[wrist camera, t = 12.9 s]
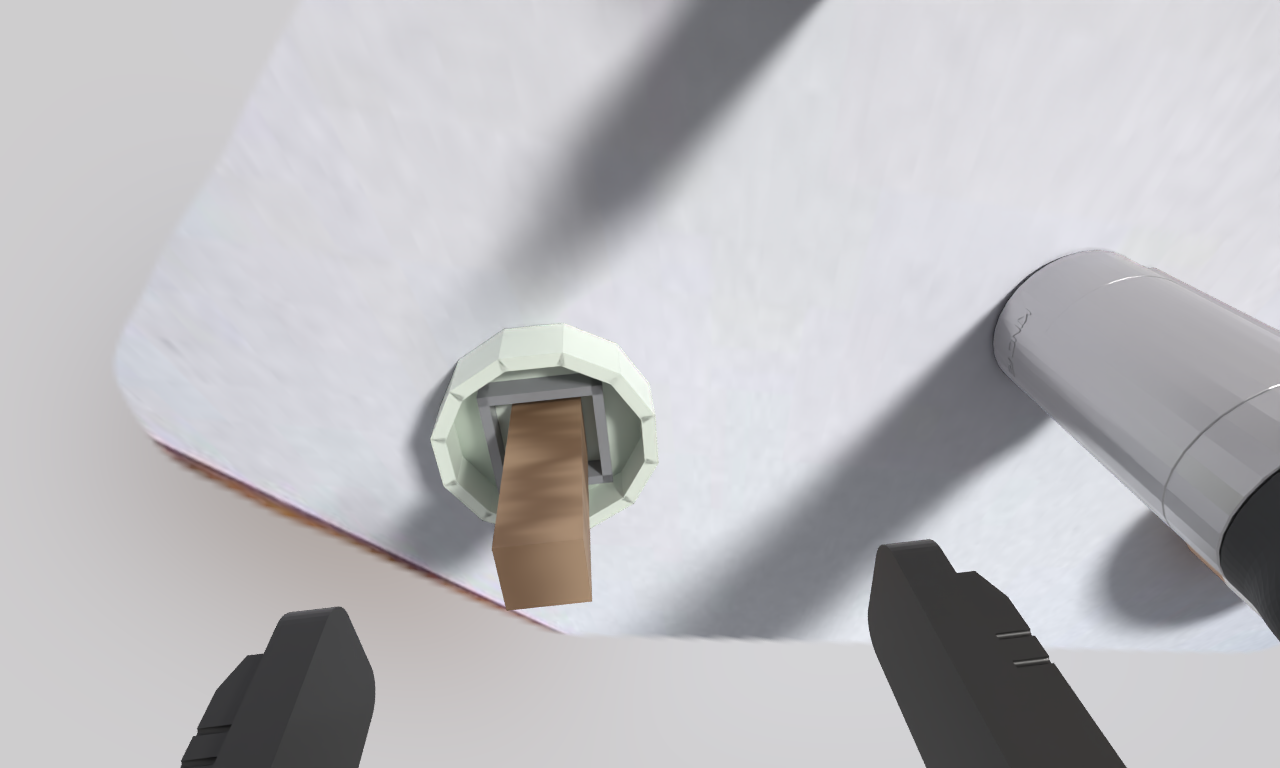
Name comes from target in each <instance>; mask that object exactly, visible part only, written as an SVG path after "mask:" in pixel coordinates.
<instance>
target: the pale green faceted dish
mask: <svg viewBox="0 0 1280 768" xmlns="http://www.w3.org/2000/svg"><path fill="white" fill-rule="evenodd" d="M580 396H581V402H582V410H583V418H584V426H585V434H586V442H587V455H588V488H589V521H590V529H591V528H593V527H594V526H596V525H598V524H600V523H601V522H603V521H605V520H606V519H608V518H610V517H612V516H613V515H615V514H617V513H619V512H620V511H622V510H624V509H626V508H627V507H629V506H631V505H632V504H634V503H635V501H636V499H637V498H638V496H639V494H640V493H641V491H642V489H643V488H644V486H645V484H646V483H647V481H648V480H649V478H650V476H651V475H652V473H653V471H654V470H655V468H656V466H657V465H658V463H659V462H658V448H657V434H656V420H655V411H654V406H653V401H652V395H651V390H650V385H649V383H648V381H647V380H646V379H645V378H644V376H643V375H642V374H641V373H640V371H639V370H638V369H637V368H636V366H635V365H634V364H633V363H632V361H631V360H630V359H629V358H628V357H627V355H626V354H625V353H624V352H623V350H622V349H621V348H620V347H619V345H618V344H616V343H614V342H611V341H609V340H606V339H604V338H601V337H598V336H596V335H593V334H591V333H588V332H585V331H583V330H580V329H578V328H575V327H573V326H570V325H567V324H565V323H558V324H548V325H539V326H529V327H519V328H509V329H503V330H502V331H500V332H499V333H498V334H496V335H495V336H493V337H492V338H490V339H489V340H487V341H486V342H484V343H483V344H481V345H480V346H479V347H477V348H476V349H474V350H473V351H471V352H470V353H468V354H467V355H465V356H464V357H463V358H461V359H460V360H458V363H457V366H456V368H455V371H454V373H453V376H452V378H451V381H450V383H449V386H448V388H447V391H446V393H445V396H444V398H443V401H442V403H441V406H440V409H439V412H438V415H437V419H436V422H435V425H434V429H433V432H432V435H431V438H430V440H431V444H432V447H433V451H434V454H435V458H436V461H437V465H438V468H439V472H440V475H441V479H442V482H443V486H444V487H445V488H446V489H447V490H448V491H450V492H451V493H452V494H453V495H454V496H455V497H456V498H457V499H459V500H460V501H461V502H462V503H463V504H464V505H465V506H466V507H468V508H469V509H470V510H471V511H472V512H473V513H474V514H476V515H477V516H478V517H479V518H480V519H481V520H482V521H486V522H489V523H493V524H495V522H496V515H497V508H498V501H499V494H500V486H501V479H502V472H503V465H504V458H505V451H506V444H507V437H508V429H509V422H510V415H511V408H512V404H514V403H524V402H533V401H542V400H552V399H561V398H571V397H580Z"/></svg>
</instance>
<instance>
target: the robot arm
mask: <svg viewBox="0 0 1280 768" xmlns="http://www.w3.org/2000/svg"><path fill="white" fill-rule="evenodd" d="M993 347H994V354H995V358H996V360H997V362H998V365H999V367H1000V368H1001V369H1002V371H1003V372H1004V373H1005V374H1006V375H1007V376H1008V377H1009V378H1010V379H1011V380H1012V381H1013V382H1014V383H1015V384H1016V385H1017V386H1019V387H1020V388H1021V389H1022V390H1023V391H1024V392H1025V393H1026V394H1027V395H1028V396H1029V397H1030V398H1031V399H1033V400H1034V401H1035V402H1036V403H1037V404H1038V405H1039V406H1040V407H1041V408H1042V409H1043V410H1044V411H1045V412H1046V413H1047V414H1048V415H1049V416H1050V417H1051V418H1053V419H1054V420H1055V421H1056V422H1057V423H1058V424H1059V425H1060V426H1061V427H1062V428H1063V429H1064V430H1065V431H1067V432H1068V433H1069V434H1070V435H1071V436H1072V437H1073V438H1074V439H1075V440H1076V441H1077V442H1078V443H1079V444H1081V445H1082V446H1083V447H1084V448H1085V449H1086V450H1087V451H1088V452H1089V453H1090V454H1091V455H1092V456H1093V457H1095V458H1096V459H1097V460H1098V461H1099V462H1100V463H1101V464H1102V465H1103V466H1104V467H1105V468H1106V469H1107V470H1109V471H1110V472H1111V473H1112V474H1113V475H1114V476H1115V477H1116V478H1117V479H1118V480H1119V481H1120V482H1121V483H1122V484H1124V485H1125V486H1126V487H1127V488H1128V489H1129V490H1130V491H1131V492H1132V493H1133V494H1134V495H1135V496H1136V497H1138V498H1139V499H1140V500H1141V501H1142V502H1143V503H1144V504H1145V505H1146V506H1147V507H1148V508H1149V509H1150V510H1152V511H1153V512H1154V513H1155V514H1156V515H1157V516H1158V517H1159V518H1160V519H1161V520H1162V521H1163V522H1164V523H1166V524H1167V525H1168V526H1169V527H1170V528H1171V529H1172V530H1173V531H1175V532H1176V533H1177V534H1178V535H1179V536H1180V537H1181V538H1182V539H1183V540H1184V541H1185V542H1186V543H1187V544H1189V545H1190V546H1191V547H1192V548H1193V549H1194V550H1195V551H1196V552H1197V553H1198V554H1199V555H1200V556H1201V557H1203V558H1204V559H1205V560H1206V561H1207V562H1208V563H1209V564H1210V565H1211V566H1212V567H1213V568H1214V569H1215V570H1216V571H1218V572H1219V573H1220V574H1221V575H1222V576H1223V577H1224V578H1225V579H1226V580H1228V582H1229V583H1230V584H1231V585H1232V586H1234V587H1235V588H1236V589H1237V590H1238V591H1239V592H1240V593H1241V594H1242V595H1243V596H1244V597H1245V598H1246V599H1247V600H1248V601H1249V602H1250V603H1252V605H1253V606H1254V607H1255V608H1256V610H1257V611H1258V612H1259V614H1260V615H1261V617H1262V619H1263V620H1264V621H1265V623H1266V624H1267V626H1268V627H1269V628H1270V630H1271V631H1272V632H1273V634H1274V635H1275V636H1276V637H1277V638H1278V640H1279V641H1280V331H1279V330H1277V329H1275V328H1273V327H1271V326H1269V325H1267V324H1265V323H1263V322H1261V321H1259V320H1257V319H1255V318H1253V317H1251V316H1249V315H1247V314H1245V313H1243V312H1241V311H1239V310H1237V309H1235V308H1233V307H1231V306H1229V305H1228V304H1226V303H1224V302H1222V301H1220V300H1218V299H1216V298H1214V297H1212V296H1210V295H1208V294H1206V293H1204V292H1202V291H1200V290H1198V289H1196V288H1194V287H1192V286H1190V285H1188V284H1186V283H1184V282H1182V281H1180V280H1178V279H1176V278H1174V277H1172V276H1170V275H1168V274H1167V273H1165V272H1163V271H1161V270H1159V269H1157V268H1146V267H1144V266H1142V265H1140V264H1138V263H1136V262H1134V261H1132V260H1130V259H1128V258H1126V257H1124V256H1122V255H1119V254H1117V253H1114V252H1109V251H1102V250H1093V251H1082V252H1078V253H1075V254H1071V255H1068V256H1064V257H1062V258H1060V259H1058V260H1056V261H1054V262H1052V263H1050V264H1048V265H1046V266H1045V267H1043V268H1042V269H1040V270H1039V271H1037V272H1036V273H1034V274H1033V275H1032V276H1031V277H1030V278H1028V279H1027V280H1026V281H1025V282H1024V283H1023V284H1022V285H1021V286H1020V287H1019V288H1018V289H1017V290H1016V291H1015V293H1014V294H1013V295H1012V296H1011V298H1010V299H1009V300H1008V302H1007V303H1006V305H1005V307H1004V309H1003V311H1002V312H1001V314H1000V316H999V319H998V322H997V325H996V328H995V332H994V341H993ZM868 625H869V631H870V636H871V640H872V644H873V647H874V650H875V653H876V655H877V658H878V660H879V662H880V664H881V667H882V669H883V671H884V673H885V676H886V678H887V680H888V682H889V685H890V687H891V689H892V691H893V693H894V696H895V698H896V700H897V703H898V705H899V707H900V709H901V712H902V714H903V716H904V718H905V721H906V723H907V725H908V727H909V730H910V732H911V734H912V736H913V739H914V741H915V743H916V745H917V748H918V750H919V752H920V754H921V757H922V759H923V761H924V763H925V766H926V768H1126V766H1125V765H1124V763H1123V762H1122V760H1121V759H1120V758H1119V756H1118V755H1117V753H1116V752H1115V750H1114V749H1113V747H1112V746H1111V745H1110V743H1109V742H1108V740H1107V739H1106V737H1105V736H1104V735H1103V733H1102V732H1101V730H1100V729H1099V727H1098V726H1097V725H1096V723H1095V722H1094V720H1093V719H1092V717H1091V716H1090V714H1089V713H1088V711H1087V710H1086V709H1085V707H1084V706H1083V704H1082V703H1081V701H1080V700H1079V699H1078V697H1077V696H1076V694H1075V693H1074V691H1073V690H1072V689H1071V687H1070V686H1069V684H1068V683H1067V681H1066V680H1065V678H1064V677H1063V676H1062V674H1061V673H1060V671H1059V670H1058V668H1057V667H1056V666H1055V664H1054V663H1051V662H1050V660H1049V655H1048V654H1047V653H1046V651H1045V650H1044V648H1043V647H1042V645H1041V644H1040V642H1039V641H1038V640H1037V638H1036V637H1035V636H1032V635H1031V633H1030V628H1029V627H1028V625H1027V624H1026V622H1025V621H1024V619H1023V618H1022V617H1021V615H1020V614H1019V612H1018V611H1017V609H1016V608H1015V607H1014V605H1013V604H1012V602H1011V601H1010V599H1009V598H1008V597H1007V596H1006V595H1005V594H1003V593H1002V592H1001V591H1000V590H998V589H997V588H996V587H995V586H993V585H992V584H991V583H990V582H988V581H987V580H986V579H984V578H983V577H982V576H981V575H979V574H978V573H977V572H976V571H971V572H962V573H956V572H955V570H954V568H953V567H952V565H951V564H950V562H949V561H948V559H947V557H946V556H945V554H944V553H943V551H942V550H941V548H940V547H939V545H938V544H937V543H936V542H934V541H933V540H930V539H927V540H919V541H910V542H902V543H893V544H884V545H881V546H879V548H878V550H877V554H876V561H875V567H874V574H873V581H872V588H871V594H870V601H869V608H868ZM374 704H375V680H374V674H373V670H372V668H371V665H370V663H369V661H368V659H367V656H366V654H365V652H364V650H363V647H362V645H361V643H360V641H359V638H358V636H357V634H356V632H355V629H354V627H353V625H352V623H351V620H350V618H349V616H348V614H347V612H346V611H345V609H343V608H342V607H331V608H323V609H315V610H306V611H297V612H290V613H287V614H285V615H284V616H283V617H282V618H281V619H280V620H279V622H278V624H277V626H276V628H275V630H274V632H273V635H272V637H271V639H270V641H269V644H268V646H267V648H266V650H265V652H264V654H257V655H248V656H247V657H246V658H245V659H244V660H243V661H242V662H241V663H240V664H239V665H238V666H237V668H236V669H235V670H234V671H233V672H232V673H231V674H230V675H229V676H228V678H227V679H226V680H225V681H224V682H223V683H222V684H221V685H220V686H219V688H218V689H217V690H216V692H215V694H214V696H213V698H212V700H211V702H210V704H209V706H208V708H207V710H206V712H205V714H204V716H203V718H202V720H201V722H200V724H199V726H198V728H197V729H198V733H197V735H196V736H193V738H192V740H191V742H190V744H189V746H188V748H187V750H186V752H185V754H184V756H183V758H182V760H181V762H182V765H181V768H358V767H359V763H360V760H361V756H362V752H363V748H364V745H365V741H366V737H367V733H368V729H369V726H370V722H371V719H372V715H373V710H374Z"/></svg>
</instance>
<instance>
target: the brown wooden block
mask: <svg viewBox="0 0 1280 768" xmlns="http://www.w3.org/2000/svg"><path fill="white" fill-rule="evenodd" d="M492 551H493V556H494V560H495V564H496V568H497V572H498V577H499V581H500V585H501V589H502V593H503V598H504V602H505V606H506V610H517V609H526V608H535V607H545V606H554V605H563V604H572V603H582V602H591V601H592V586H591V553H590V521H589V488H588V455H587V442H586V434H585V426H584V418H583V410H582V402H581V396H580V397H571V398H561V399H552V400H542V401H533V402H524V403H514V404H512V408H511V415H510V422H509V429H508V437H507V444H506V451H505V458H504V465H503V472H502V479H501V486H500V494H499V501H498V508H497V515H496V522H495V529H494V536H493V544H492Z"/></svg>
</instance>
